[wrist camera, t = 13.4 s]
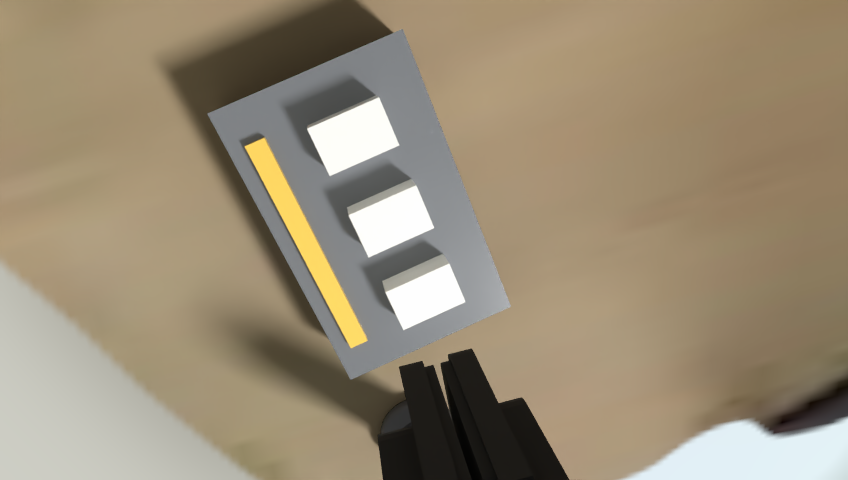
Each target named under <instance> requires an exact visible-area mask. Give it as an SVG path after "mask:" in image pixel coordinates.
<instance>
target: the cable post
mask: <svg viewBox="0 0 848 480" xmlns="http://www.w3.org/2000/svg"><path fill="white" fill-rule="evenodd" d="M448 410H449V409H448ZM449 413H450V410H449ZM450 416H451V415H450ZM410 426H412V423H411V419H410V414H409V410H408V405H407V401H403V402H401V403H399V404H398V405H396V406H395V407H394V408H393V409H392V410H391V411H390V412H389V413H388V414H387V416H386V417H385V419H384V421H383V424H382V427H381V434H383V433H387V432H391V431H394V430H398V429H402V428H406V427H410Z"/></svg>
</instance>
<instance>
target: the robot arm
mask: <svg viewBox="0 0 848 480" xmlns="http://www.w3.org/2000/svg"><path fill="white" fill-rule="evenodd" d="M448 359H449V361H447V362H443V363H441V370H442V375H443V380H444V385H445V390H446V395H447V400H448V405H449V410H450V413H449V410H448V407H447V404H446V401H445V398H444V395H443V392H442V389H441V386H440V383H439V380H438V377H437V374H436V371H435V368H434V366H433V365H431V366H427V367H424V364H423V361H420V362H416V363H412V364H408V365H404V366H400V367H399V369H400V374H401V378H402V383H403V387H404V392H405V396H406V401H407V405H408V410H409V414H410V419H411V423H412V426H410V427H406V428H402V429H398V430H394V431H391V432H387V433H383V434H379V435H378V443H379V451H380V459H381V467H382V475H383V480H569V478H568V477H567V475H566V473H565V471H564V469H563V468H562V466H561V464H560V462H559V461H558V459H557V457H556V455H555V453H554V452H553V450H552V448H551V446H550V445H549V443H548V441H547V439H546V437H545V436H544V434H543V432H542V430H541V429H540V427H539V425H538V423H537V421H536V420H535V418H534V416H533V414H532V413H531V411H530V409H529V407H528V405H527V404H526V402H525V401H524V399H523V398H517V399H513V400H509V401H506V402H502V403H498V401H497V399H496V397H495V395H494V393H493V391H492V389H491V387H490V385H489V383H488V381H487V379H486V376H485V374H484V372H483V370H482V368H481V366H480V364H479V362H478V360H477V358H476V356H475V354H474V352H473V350H472V349H468V350H464V351H460V352H456V353H452V354H448ZM450 415H451V416H450Z"/></svg>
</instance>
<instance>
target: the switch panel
mask: <svg viewBox="0 0 848 480" xmlns="http://www.w3.org/2000/svg"><path fill="white" fill-rule="evenodd" d="M208 116H209V118H210V120H211V122H212V124H213V125H214V127H215V129H216V131H217V133H218V135H219V137H220V138H221V140H222V142H223V144H224V146H225V148H226V150H227V151H228V153H229V155H230V157H231V159H232V161H233V162H234V164H235V166H236V168H237V170H238V172H239V174H240V175H241V177H242V179H243V181H244V183H245V185H246V187H247V188H248V190H249V192H250V194H251V196H252V198H253V200H254V201H255V203H256V205H257V207H258V209H259V211H260V213H261V214H262V216H263V218H264V220H265V222H266V224H267V226H268V227H269V229H270V231H271V233H272V235H273V237H274V238H275V240H276V242H277V244H278V246H279V248H280V250H281V251H282V253H283V255H284V257H285V259H286V261H287V263H288V264H289V266H290V268H291V270H292V272H293V274H294V276H295V277H296V279H297V281H298V283H299V285H300V287H301V289H302V290H303V292H304V294H305V296H306V298H307V300H308V302H309V303H310V305H311V307H312V309H313V311H314V313H315V314H316V316H317V318H318V320H319V322H320V324H321V326H322V327H323V329H324V331H325V333H326V335H327V337H328V339H329V340H330V342H331V344H332V346H333V348H334V350H335V352H336V353H337V355H338V357H339V359H340V361H341V363H342V365H343V366H344V368H345V370H346V372H347V374H348V376H349V378H350V379H354V378H356V377H358V376H360V375H362V374H365V373H367V372H369V371H371V370H373V369H375V368H378V367H380V366H382V365H384V364H386V363H389V362H391V361H393V360H395V359H397V358H400V357H402V356H404V355H406V354H408V353H410V352H413V351H415V350H417V349H419V348H421V347H424V346H426V345H428V344H430V343H432V342H435V341H437V340H439V339H441V338H443V337H445V336H448V335H450V334H452V333H454V332H456V331H459V330H461V329H463V328H465V327H467V326H469V325H472V324H474V323H476V322H478V321H480V320H483V319H485V318H487V317H489V316H491V315H494V314H496V313H498V312H500V311H502V310H504V309H507V308H509V307H511V305H510V303H509V300H508V298H507V295H506V292H505V290H504V287H503V285H502V282H501V280H500V277H499V275H498V272H497V269H496V267H495V264H494V262H493V259H492V257H491V254H490V251H489V249H488V246H487V244H486V241H485V239H484V236H483V234H482V231H481V228H480V226H479V223H478V221H477V218H476V216H475V213H474V210H473V208H472V205H471V203H470V200H469V198H468V195H467V193H466V190H465V187H464V185H463V182H462V180H461V177H460V175H459V172H458V169H457V167H456V164H455V162H454V159H453V157H452V154H451V152H450V149H449V146H448V144H447V141H446V139H445V136H444V134H443V131H442V128H441V126H440V123H439V121H438V118H437V116H436V113H435V111H434V108H433V105H432V103H431V100H430V98H429V95H428V93H427V90H426V87H425V85H424V82H423V80H422V77H421V75H420V72H419V70H418V67H417V64H416V62H415V59H414V57H413V54H412V52H411V49H410V46H409V44H408V41H407V39H406V36H405V34H404V31H403V29H401V30H399V31H397V32H394V33H392V34H390V35H388V36H385V37H383V38H381V39H378V40H376V41H374V42H371V43H369V44H367V45H365V46H362V47H360V48H358V49H355V50H353V51H351V52H348V53H346V54H344V55H341V56H339V57H337V58H335V59H332V60H330V61H328V62H325V63H323V64H321V65H318V66H316V67H314V68H311V69H309V70H307V71H305V72H302V73H300V74H298V75H295V76H293V77H291V78H288V79H286V80H284V81H281V82H279V83H277V84H275V85H272V86H270V87H268V88H265V89H263V90H261V91H258V92H256V93H254V94H252V95H249V96H247V97H245V98H242V99H240V100H238V101H235V102H233V103H231V104H228V105H226V106H224V107H222V108H219V109H217V110H215V111H212V112H210V113H208Z"/></svg>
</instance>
